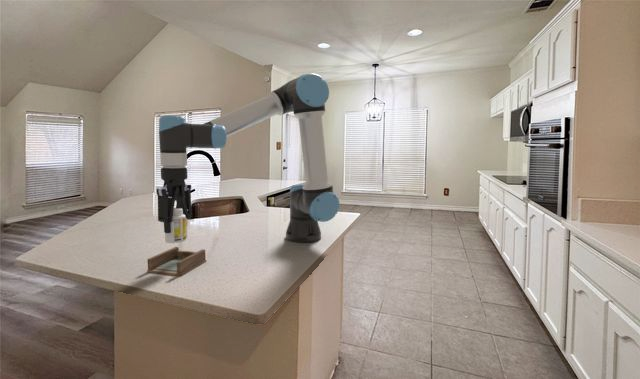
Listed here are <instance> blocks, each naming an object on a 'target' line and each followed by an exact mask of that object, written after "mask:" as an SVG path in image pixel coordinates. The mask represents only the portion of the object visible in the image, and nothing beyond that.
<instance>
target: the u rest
mask: <svg viewBox="0 0 640 379" xmlns="http://www.w3.org/2000/svg"><path fill="white" fill-rule="evenodd" d="M206 262H207V259H206V249H201V250H198V251H191V250H190V251H189V250H180V249H179V246H174V247H172V248H170V249H167V250H165V251H162V252H161V253H158V254H157V255H154V256H151V257H149V258H147V271H146V272H147V273H152V274H153V273H154V274H162V275H168V276H169V275H170V276H177V277H178V276H179V277H183V276H184V275H186V274H187V273H189V272H191V271H192V270H194V269H197V268H198V267H199V266H201V265H203V264H205V263H206Z"/></svg>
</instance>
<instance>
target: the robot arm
mask: <svg viewBox="0 0 640 379" xmlns="http://www.w3.org/2000/svg"><path fill="white" fill-rule="evenodd" d="M329 95H330V89H329V86H328V83H327V82H326V80H325V79H324V78H323V77H322V76H321V75H319V74H317V73H311V72H310V73H306V74H302V75H299V76H298V77H296V78H294V79H291V80H289V81H287V82H286V83H285V84H283V85H281V86H280V87H278V88H275V89H274V90H272V91H270V92H269V94H268V96H265V97H262V98H260V99H258V100H255V101H253V102H250V103H248V104H245V105H244V106H242V107H239V108H237V109H235V110H232V111H230V112H228V113H225V114H224V115H221V116H218V117H215V118H213V119H211V120H209V121H206V122H204V123H189V122H187V121H186V120H187V119H186V117H185V116H181V115H170V114H169V115H162V116H160V117H159V118H158V119H159V120H158V139H159V153H160V167H161V168H160V178H161V180H163V185H162V187H161V188H156V191H155V192H156V196H157V221H158V222H161V223H163V229H164V230H163V232H164V240H165V242H164V243H165V244H175V238H174V222H172V217H173V210H174V208H175V203H176V206H177V207H176V208H182V209H183V214H184V215H185V216H186V239H187V238H188V219H189V218H191V215H192V214H193V213H192V211H193V210H192V195H191V194H192V193H191V191H192V184H186V181H185V180H188V167H187V166H188V153H187V149H188V148H189V149H190V148H191V149H193V148H195V149H215V150H216V149H223V148H225V147H226V146H227V138H228V137H230V136H232V135H234V134H237V133H239V132H241V131H243V130H246V129H248V128H250V127H251V126H254V125H257V124H259V123H261V122H263V121H266V120H268V119H270V118H272V117H274V116H277V115H278V116H282V115H285V114H287V113H291V112H293V116H294V117H296V119H297V120H298V125H299V126H298V128H299V134H300V136H299V137H300V143H301V144H300V145H301V151H302V152H301V153H302V162H303V170H304V179H305V180H304V181H305V183H304V184H292V185H291V186H290V188H289V189H290V190H289V222H288V225H287V229H286V231H285V238H286V239H287V240H288V241H292V242H295V243H312V242H316V241H319V240H321V239H322V231H321V228H320V225H319V224H320V223H319V222H321V223H324V222H325V223H326V222H328V221H331V220H333V219H334V218H335V216H336V215H337V214H338V212H339V209H340V200H339V197H338V195H336V194H335V193H334V187H333V184H332V183H331V182H330V181H329V179H328V177H329V176H328V167H327V158H326V157H327V155H326V148H325V147H326V146H325V137H324V127H323V116H324V115H325V113H326V105H325V104H326V103H327V101H328V99H329Z"/></svg>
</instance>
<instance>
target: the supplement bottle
mask: <svg viewBox="0 0 640 379" xmlns="http://www.w3.org/2000/svg"><path fill="white" fill-rule="evenodd" d="M172 222H174V238H175V243H176V244H177V243H183V242H185V241H186V240H187V238H186V216H185V215H184V214H183V209H182V208H178V207H174V210H173V217H172ZM175 243H174V244H175Z"/></svg>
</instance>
